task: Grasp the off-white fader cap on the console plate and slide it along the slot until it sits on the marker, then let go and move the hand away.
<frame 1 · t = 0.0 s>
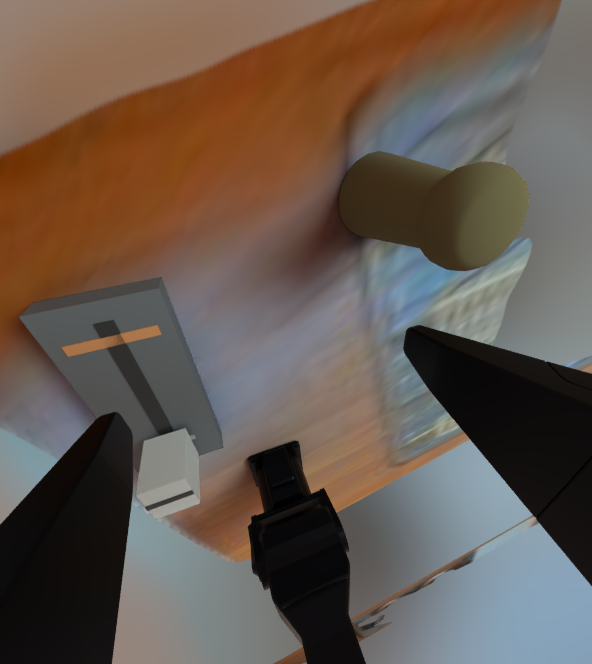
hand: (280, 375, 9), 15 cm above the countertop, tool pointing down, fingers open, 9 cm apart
console: (150, 383, 24), on the countertop
cork: (372, 196, 22), on the countertop
fader: (171, 472, 24), point 5 cm above the countertop, slide at 0.0 cm
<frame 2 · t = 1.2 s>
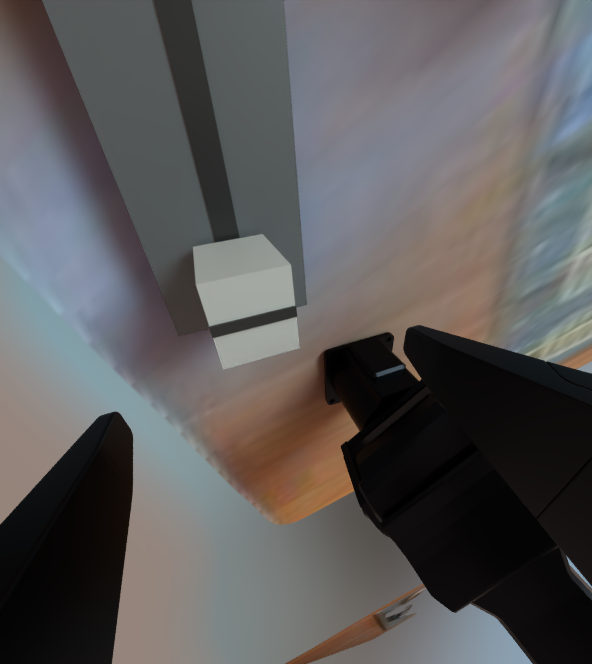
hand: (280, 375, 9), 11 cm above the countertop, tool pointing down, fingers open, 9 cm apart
console: (203, 144, 14), on the countertop
fader: (244, 296, 13), point 5 cm above the countertop, slide at 0.0 cm
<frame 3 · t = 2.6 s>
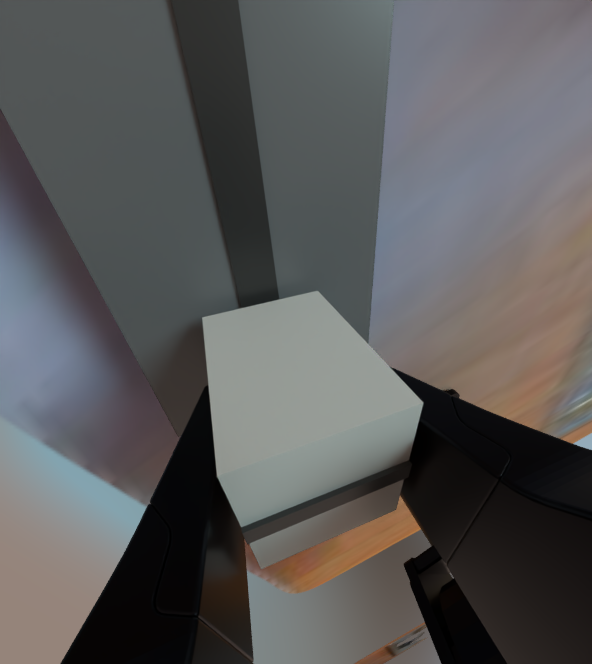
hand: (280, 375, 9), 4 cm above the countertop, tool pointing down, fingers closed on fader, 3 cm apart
console: (221, 142, 8), on the countertop
fader: (294, 409, 7), point 5 cm above the countertop, slide at 0.0 cm, touching gripper
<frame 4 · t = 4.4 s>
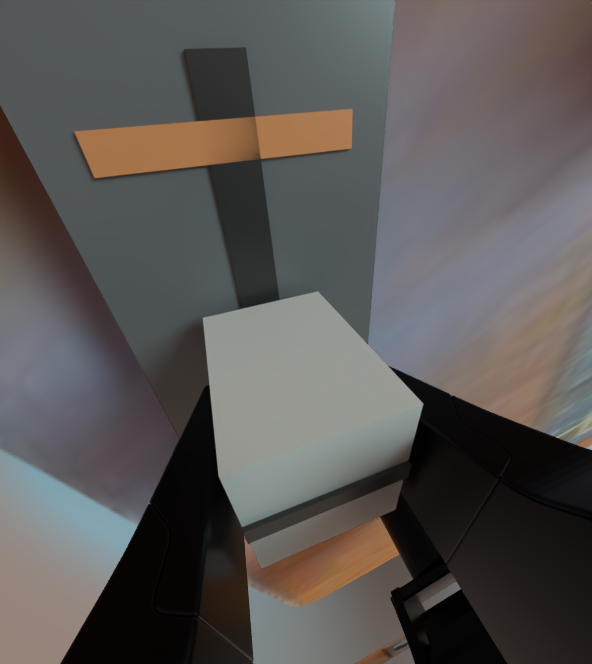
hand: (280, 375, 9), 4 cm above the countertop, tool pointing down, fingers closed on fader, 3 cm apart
console: (256, 320, 11), on the countertop
fader: (294, 410, 7), point 5 cm above the countertop, slide at 6.0 cm, touching gripper
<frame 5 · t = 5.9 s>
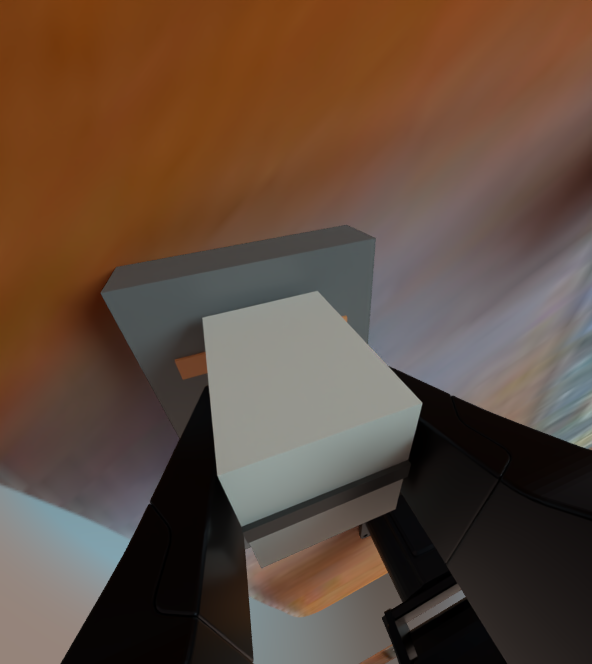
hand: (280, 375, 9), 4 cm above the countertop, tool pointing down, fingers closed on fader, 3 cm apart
console: (275, 413, 15), on the countertop
fader: (294, 409, 7), point 5 cm above the countertop, slide at 11.9 cm, touching gripper
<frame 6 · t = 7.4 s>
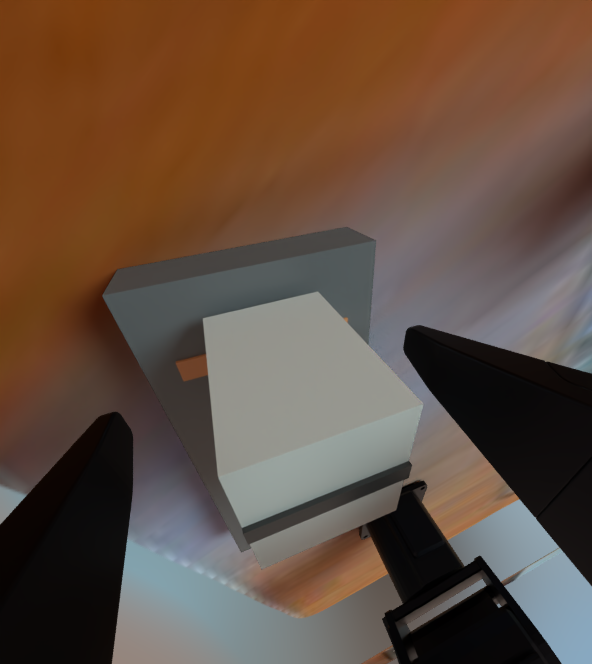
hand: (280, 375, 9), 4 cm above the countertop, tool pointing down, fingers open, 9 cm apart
console: (275, 415, 15), on the countertop
fader: (294, 410, 7), point 5 cm above the countertop, slide at 12.0 cm
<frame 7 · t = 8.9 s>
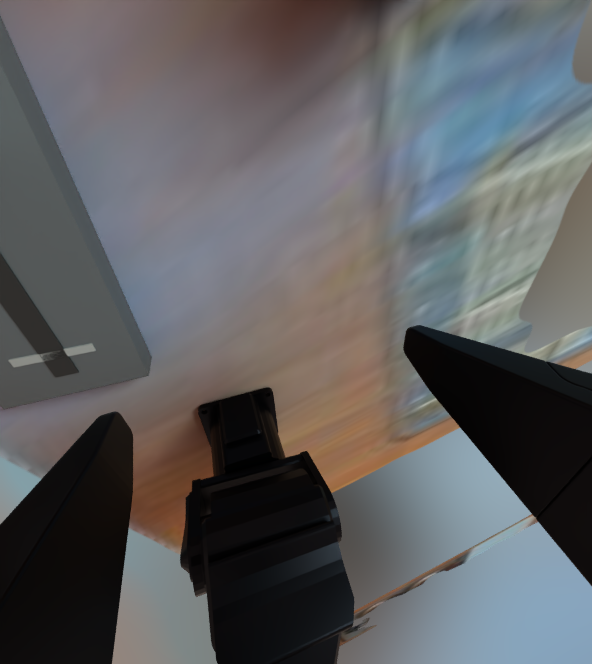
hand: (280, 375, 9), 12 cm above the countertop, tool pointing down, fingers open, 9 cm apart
console: (3, 237, 14), on the countertop
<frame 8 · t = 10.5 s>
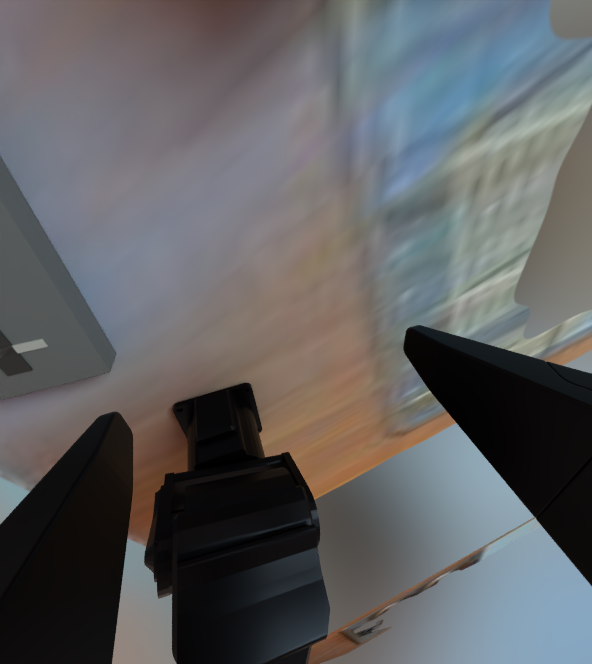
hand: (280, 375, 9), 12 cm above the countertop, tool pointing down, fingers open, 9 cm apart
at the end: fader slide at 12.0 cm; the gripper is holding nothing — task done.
